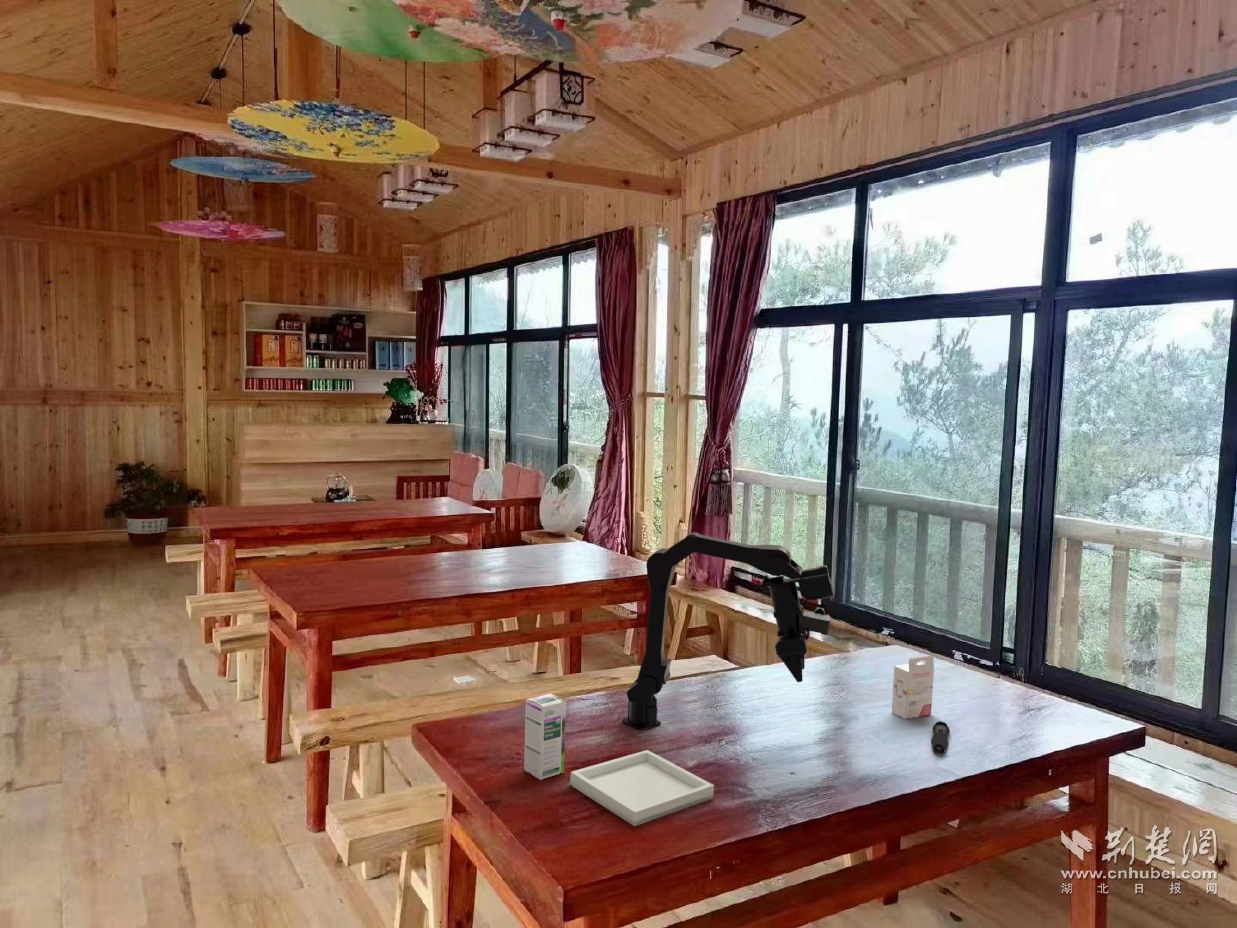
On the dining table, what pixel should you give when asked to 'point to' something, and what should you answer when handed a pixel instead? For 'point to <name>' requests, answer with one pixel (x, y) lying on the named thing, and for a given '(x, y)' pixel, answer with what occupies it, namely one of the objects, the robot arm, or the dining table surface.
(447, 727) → the dining table surface
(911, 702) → the ink cartridge box
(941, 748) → the electric trimmer
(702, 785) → the tray
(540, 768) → the syrup box
